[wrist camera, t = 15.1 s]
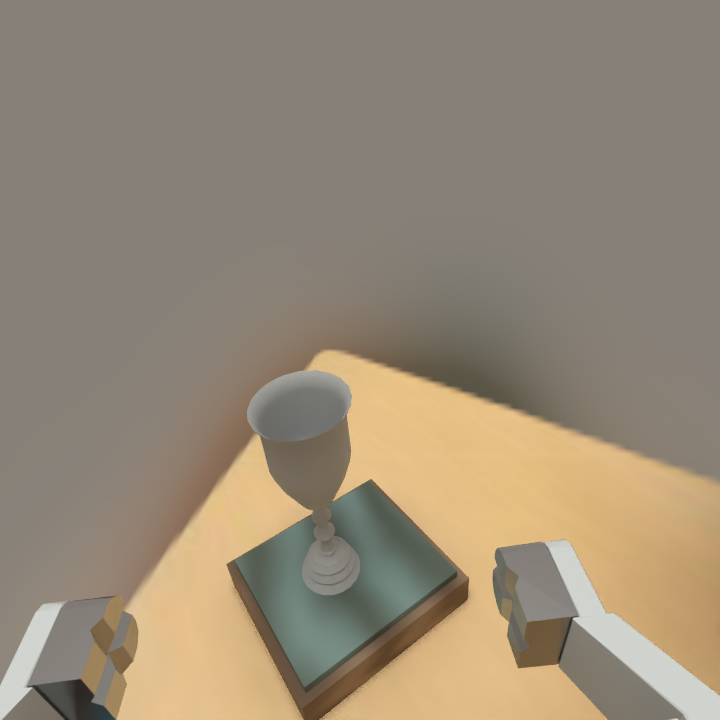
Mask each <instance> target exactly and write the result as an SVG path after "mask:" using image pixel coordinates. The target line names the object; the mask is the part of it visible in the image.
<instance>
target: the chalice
mask: <svg viewBox="0 0 720 720" xmlns="http://www.w3.org/2000/svg"><path fill="white" fill-rule="evenodd" d="M351 398H352V395H351V392H350V389H349V386H348V385H347V384H346V383H345V382H344V381H343V380H342V379H341V378H339V377H337V376H335V375H333V374H331V373H327V372H321V371H299V372H295V373H291V374H287V375H284V376H281V377H279V378H277V379H275V380H273V381H271V382H269V383H268V384H267V385H265V386H264V387H262V388H261V389H260V390H259V391H258V392H257V393H256V395H255V396H254V397H253V398H252V399H251V402H250V404H249V407H248V409H247V414H248V415H247V417H248V422H249V424H250V425H251V427H252V429H253V430H254V431H255V432H256V433H257V434H258V435H260V437H261V441H262V445H263V449H264V452H265V456H266V460H267V464H268V468H269V472H270V474H271V475H272V477H273V478H274V480H275V481H276V483H277V484H278V485H279V486H280V487H281V488H282V489H283V491H284V492H285V493H286V494H287V495H289V496H290V497H291V498H293V499H294V500H295V501H297V502H298V503H299V504H301V505H302V506H303V507H305V508H306V509H309V510H314V511H313V513H312V516H311V519H312V521H313V522H314V523H315V524H317V526H316V527H315V529H314V532H313V533H314V536H315V538H316V539H318V540H316V541H315V542H314V543H313V544H312V545H311V546H310V548H309V550H308V552H307V555H306V557H305V560H304V562H303V566H302V576H303V580H304V582H305V583H306V585H307V587H308V588H310V589H311V590H312V591H314V592H315V593H318V594H321V595H335V594H338V593H342V592H344V591H345V590H347V589H348V588H350V587H351V586H352V585H353V583H354V582H355V581H356V580H357V577H358V575H359V572H360V559H359V556H358V554H357V553H356V551H355V550H354V549H353V548H352V547H351V546H350V545H349V544H348V543H347V542H346V541H345V540H344V539H342V538H341V537H337V536H333V535H334V533H335V527H334V525H333V524H332V523H330V522H328V521H329V520H330V518H331V511H330V510H329V509H328V508H327V506H328V505H329V504H330V503H331V502H332V501H333V499H334V497H335V495H336V493H337V492H338V490H339V488H340V486H341V484H342V482H343V480H344V478H345V475H346V471H347V468H348V465H349V462H350V455H351V446H350V438H349V430H348V422H347V413H348V410H349V408H350V406H351Z"/></svg>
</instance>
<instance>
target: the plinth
mask: <svg viewBox="0 0 720 720" xmlns="http://www.w3.org/2000/svg"><path fill="white" fill-rule="evenodd" d="M327 508H328V509H329V510H330V511H331V518H330V520H329V521H328V522H330V523H332V524H333V525H334V527H335V533H334V535H333V536H337V537H341V538H342V539H344V540H345V541H346V542H347V543H348V544H349V545H350V546H351V547H352V548H353V549H354V550H355V551H356V553H357V554H358V556H359V559H360V572H359V575H358V577H357V580H356V581H355V582H354V583H353V585H352V586H351V587H350V588H348V589H347V590H345V591H344V592H342V593H338V594H335V595H321V594H318V593H315V592H314V591H312V590H311V589H310V588H308V587H307V585H306V583H305V582H304V580H303V576H302V566H303V562H304V560H305V557H306V555H307V552H308V550H309V548H310V546H311V545H312V544H313V543H314V542H315V541H316V540H318V539H316V538H315V536H314V533H313V532H314V529H315V527H316V526H317V524H315V523H314V522H313V521H312V519H311V516H312V514H311V515H309V516H308V517H306V518H304V519H302V520H301V521H299V522H297V523H296V524H294V525H292V526H291V527H289V528H287V529H286V530H284V531H282V532H280V533H279V534H277V535H275V536H274V537H272V538H270V539H269V540H267V541H265V542H263V543H262V544H260V545H258V546H257V547H255V548H253V549H252V550H250V551H248V552H246V553H245V554H243V555H241V556H240V557H238V558H236V559H235V560H233V561H231V562H229V563H228V564H226V565H227V567H228V570H229V572H230V575H231V577H232V580H233V583H234V585H235V587H236V589H237V591H238V593H239V595H240V597H241V599H242V601H243V602H244V604H245V606H246V608H247V610H248V612H249V614H250V616H251V618H252V620H253V622H254V624H255V626H256V628H257V629H258V631H259V633H260V635H261V637H262V639H263V641H264V643H265V645H266V647H267V649H268V651H269V653H270V655H271V656H272V658H273V660H274V662H275V664H276V666H277V668H278V670H279V672H280V674H281V676H282V678H283V680H284V682H285V684H286V685H287V687H288V689H289V691H290V693H291V695H292V697H293V699H294V701H295V703H296V705H297V707H298V709H299V711H300V712H301V714H302V716H303V718H304V720H319V719H320V718H321V717H322V716H324V715H325V714H326V713H327V712H329V711H330V710H331V709H332V708H334V707H335V706H336V705H337V704H339V703H340V702H341V701H342V700H343V699H345V698H346V697H347V696H348V695H350V694H351V693H352V692H353V691H355V690H356V689H357V688H358V687H360V686H361V685H362V684H363V683H365V682H366V681H367V680H368V679H370V678H371V677H372V676H373V675H374V674H376V673H377V672H378V671H379V670H381V669H382V668H383V667H384V666H386V665H387V664H388V663H389V662H391V661H392V660H393V659H394V658H396V657H397V656H398V655H399V654H400V653H402V652H403V651H404V650H405V649H407V648H408V647H409V646H410V645H412V644H413V643H414V642H415V641H417V640H418V639H419V638H420V637H422V636H423V635H424V634H425V633H427V632H428V631H429V630H430V629H431V628H433V627H434V626H435V625H436V624H438V623H439V622H440V621H441V620H443V619H444V618H445V617H446V616H448V615H449V614H450V613H451V612H453V611H454V610H455V609H456V608H458V607H459V606H460V605H461V604H462V603H464V602H465V601H466V600H467V598H468V584H469V578H468V577H467V576H466V575H465V574H464V573H463V572H462V571H461V570H460V569H459V568H458V567H457V566H456V565H455V563H454V562H453V561H452V560H451V559H450V558H449V557H448V556H447V555H446V554H445V553H444V552H443V551H442V550H441V549H440V548H439V547H438V546H437V545H436V544H435V543H434V542H433V541H432V540H431V539H430V538H429V537H428V536H427V535H426V534H425V533H424V532H423V531H422V530H421V529H420V528H419V527H418V526H417V525H416V524H415V523H414V522H413V521H412V520H411V519H410V518H409V517H408V516H407V515H406V514H405V513H404V512H403V511H402V510H401V509H400V508H399V507H398V506H397V505H396V504H395V503H394V502H393V501H392V500H391V499H390V498H389V497H388V496H387V495H386V494H385V493H384V492H383V491H382V489H381V488H380V487H379V486H378V485H377V484H376V483H375V482H374V481H373V480H372V479H370V480H369V481H367V482H365V483H364V484H362V485H360V486H358V487H357V488H355V489H353V490H352V491H350V492H348V493H347V494H345V495H343V496H342V497H340V498H338V499H336V500H335V501H333V502H331V503H330V504H329V505H328V506H327Z"/></svg>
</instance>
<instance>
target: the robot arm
mask: <svg viewBox="0 0 720 720" xmlns="http://www.w3.org/2000/svg"><path fill="white" fill-rule="evenodd" d="M495 560H496V563H497V567H496V568H495V569H494V570H493V587H494V594H495V598H496V602H497V605H498V608H499V612H500V614H501V615H502V616H503V617H504V618H505V619H506V620H507V621H508V622H509V626H508V633H507V636H508V639H509V642H510V645H511V648H512V651H513V654H514V657H515V660H516V663H517V666H518V668H526V667H536V666H546V665H556V664H559V668H560V669H561V670H562V671H563V672H564V673H565V674H566V675H567V676H568V677H569V678H570V679H571V680H572V681H573V683H574V684H575V685H576V686H577V687H578V688H579V689H580V690H581V691H582V692H583V693H584V694H585V695H586V696H587V697H588V699H589V700H590V701H591V702H592V703H593V704H594V705H595V706H596V707H597V708H598V709H599V710H600V711H601V712H602V713H603V715H604V716H605V717H606V718H607V719H608V720H720V696H719V695H718V694H717V693H715V692H714V691H713V690H711V689H710V688H709V687H708V686H706V685H705V684H704V683H703V682H701V681H700V680H699V679H698V678H696V677H695V676H694V675H692V674H691V673H690V672H689V671H687V670H686V669H685V668H684V667H682V666H681V665H680V664H678V663H677V662H676V661H675V660H673V659H672V658H671V657H670V656H668V655H667V654H666V653H664V652H663V651H662V650H661V649H659V648H658V647H657V646H656V645H654V644H653V643H652V642H650V641H649V640H648V639H647V638H645V637H644V636H643V635H642V634H640V633H639V632H638V631H636V630H635V629H634V628H633V627H631V626H630V625H629V624H628V623H626V622H625V621H624V620H623V619H621V618H620V617H619V616H617V615H616V614H615V613H606V611H605V609H604V607H603V605H602V603H601V601H600V599H599V597H598V595H597V593H596V592H595V590H594V588H593V586H592V584H591V582H590V580H589V578H588V576H587V574H586V572H585V570H584V568H583V566H582V564H581V562H580V561H579V559H578V557H577V555H576V553H575V551H574V549H573V547H572V545H571V544H570V543H569V542H568V541H567V540H564V539H562V540H554V541H547V542H536V543H529V544H522V545H515V546H508V547H501V548H497V549H496V551H495ZM124 605H125V603H124V602H123V600H122V599H121V598H120V596H119V595H117V596H110V597H101V598H94V599H84V600H76V601H64V602H57V603H49V604H43V605H42V606H41V607H40V608H39V610H38V611H37V612H36V613H35V615H34V617H33V619H32V621H31V623H30V625H29V627H28V629H27V631H26V633H25V635H24V637H23V639H22V641H21V643H20V646H19V648H18V650H17V652H16V654H15V656H14V658H13V660H12V662H11V664H10V666H9V668H8V670H7V672H6V675H5V677H4V679H3V681H2V683H1V685H0V720H116V719H117V716H118V713H119V709H120V706H121V702H122V699H123V695H124V692H125V688H126V685H127V683H126V681H125V678H124V676H123V672H124V671H125V670H126V669H127V668H128V667H129V665H130V664H131V663H132V662H133V660H134V657H135V653H136V649H137V644H138V628H137V623H136V620H135V619H134V617H133V615H131V614H129V613H127V612H125V611H123V608H124Z"/></svg>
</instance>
